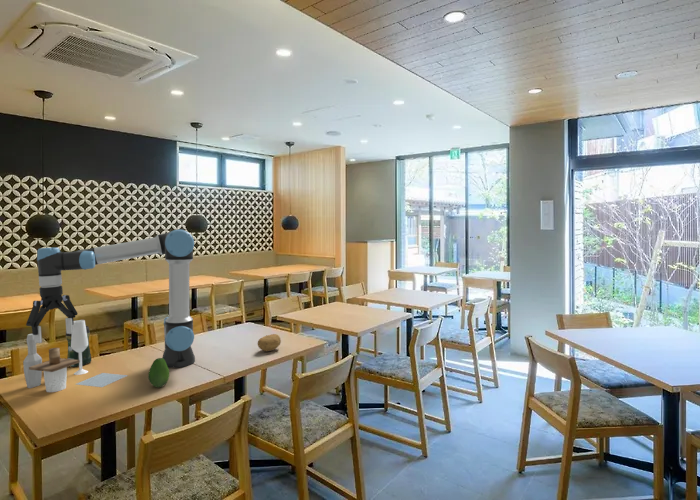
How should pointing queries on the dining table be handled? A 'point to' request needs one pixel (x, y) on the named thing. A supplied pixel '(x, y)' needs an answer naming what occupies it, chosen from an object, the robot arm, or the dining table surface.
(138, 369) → the dining table surface
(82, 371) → the champagne flute
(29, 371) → the faceted bottle
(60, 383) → the white cup
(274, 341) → the potato
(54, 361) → the lid
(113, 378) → the mat
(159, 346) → the dining table surface
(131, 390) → the dining table surface
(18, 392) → the dining table surface
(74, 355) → the wine bottles
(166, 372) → the avocado
